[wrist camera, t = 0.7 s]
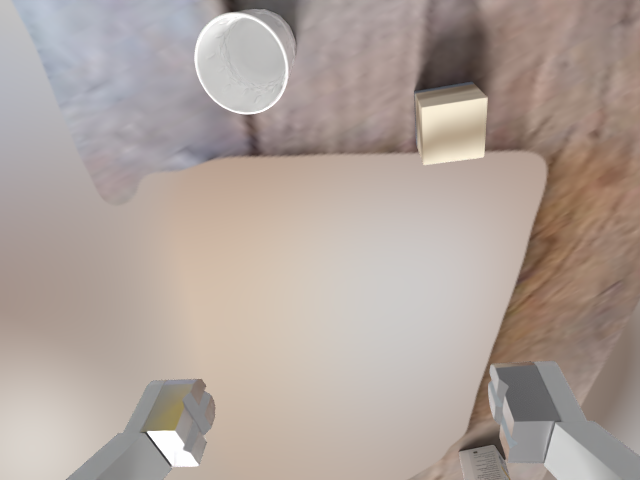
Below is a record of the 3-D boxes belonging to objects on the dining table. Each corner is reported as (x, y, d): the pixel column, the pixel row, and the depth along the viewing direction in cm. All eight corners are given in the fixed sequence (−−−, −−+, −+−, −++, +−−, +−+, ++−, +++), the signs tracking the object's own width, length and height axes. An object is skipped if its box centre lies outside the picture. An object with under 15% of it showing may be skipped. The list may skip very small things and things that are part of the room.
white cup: (312, 70, 42) (302, 96, 34) (247, 95, 44) (222, 126, 36) (283, -12, 38) (263, -5, 29) (212, 20, 40) (176, 35, 31)
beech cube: (413, 90, 42) (421, 107, 37) (471, 81, 41) (487, 97, 36) (416, 143, 45) (423, 165, 41) (469, 135, 45) (484, 157, 40)
